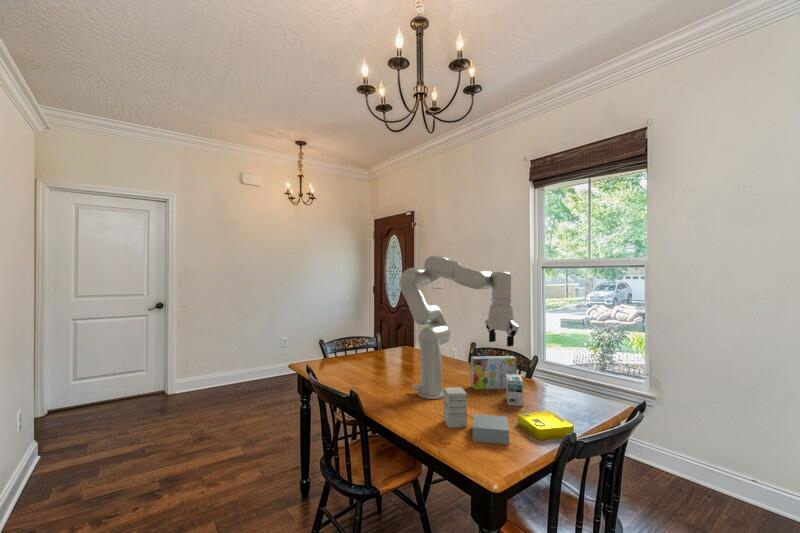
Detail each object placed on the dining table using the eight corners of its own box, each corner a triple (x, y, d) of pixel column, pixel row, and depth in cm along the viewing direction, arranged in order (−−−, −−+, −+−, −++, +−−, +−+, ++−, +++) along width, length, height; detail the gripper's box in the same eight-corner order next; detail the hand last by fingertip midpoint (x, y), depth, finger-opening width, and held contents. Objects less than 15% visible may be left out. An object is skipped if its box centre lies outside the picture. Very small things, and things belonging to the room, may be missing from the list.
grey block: (472, 442, 131) (472, 427, 131) (473, 427, 142) (473, 414, 142) (509, 445, 128) (509, 430, 128) (507, 430, 140) (507, 416, 140)
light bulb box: (524, 406, 163) (524, 381, 163) (507, 405, 164) (507, 380, 164) (521, 398, 173) (521, 374, 173) (505, 397, 175) (505, 373, 175)
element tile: (576, 438, 134) (576, 424, 134) (537, 442, 131) (537, 428, 131) (550, 421, 148) (550, 408, 148) (515, 424, 145) (515, 412, 145)
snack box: (513, 385, 192) (513, 355, 192) (516, 389, 186) (516, 358, 186) (470, 386, 191) (470, 355, 191) (473, 389, 185) (473, 358, 185)
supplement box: (443, 420, 149) (443, 387, 149) (462, 419, 149) (462, 386, 149) (447, 428, 141) (447, 393, 141) (467, 427, 142) (467, 393, 142)
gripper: (479, 300, 162) (479, 341, 162) (511, 304, 148) (511, 348, 148) (492, 299, 166) (492, 339, 166) (524, 303, 152) (524, 346, 152)
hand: (501, 343), depth 157 cm, fingers open, 9 cm apart
